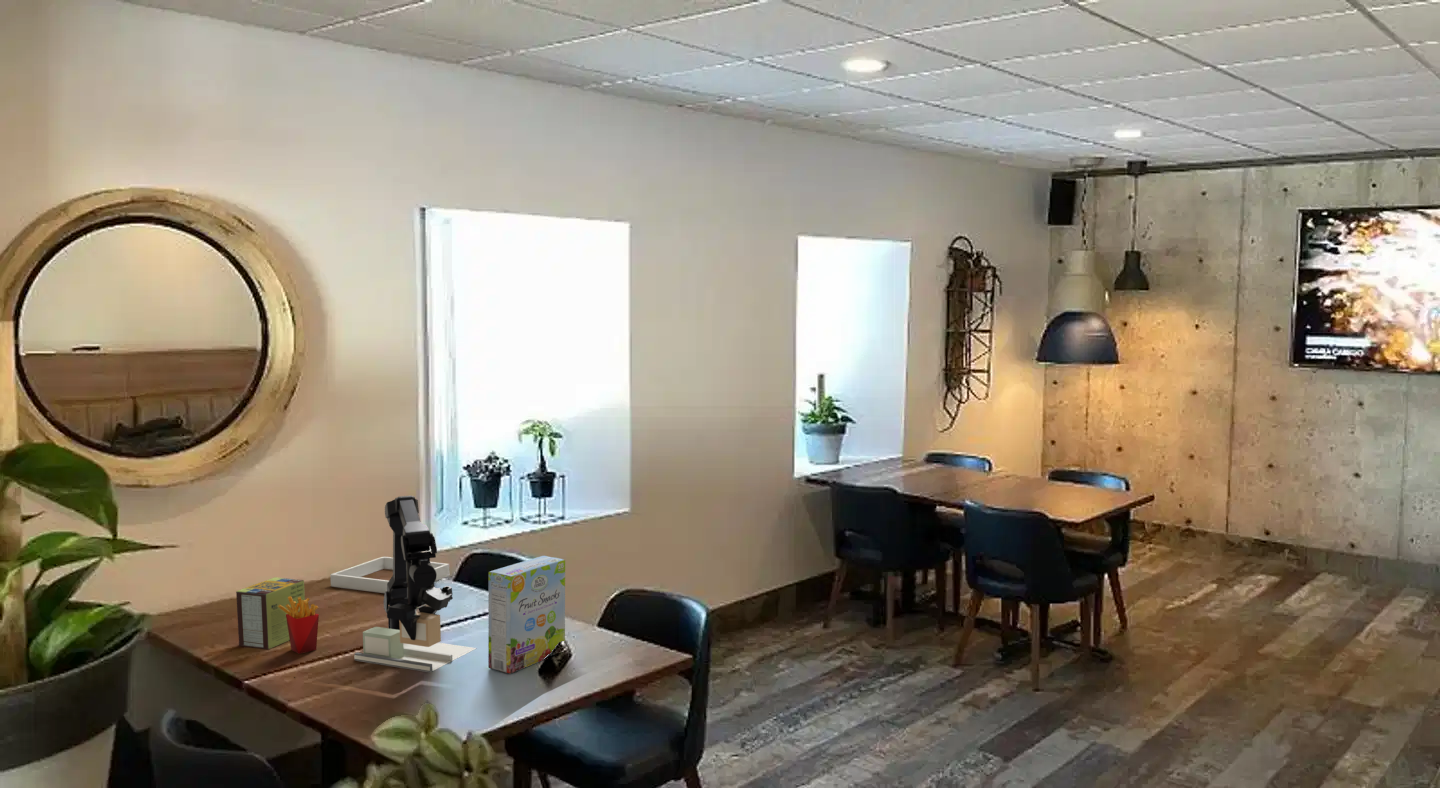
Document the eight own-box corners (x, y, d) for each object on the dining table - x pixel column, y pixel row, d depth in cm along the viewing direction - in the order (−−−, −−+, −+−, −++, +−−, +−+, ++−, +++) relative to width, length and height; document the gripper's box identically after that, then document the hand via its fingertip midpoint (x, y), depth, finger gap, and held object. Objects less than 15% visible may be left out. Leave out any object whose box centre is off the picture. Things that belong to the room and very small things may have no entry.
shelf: (354, 663, 286) (354, 653, 286) (404, 640, 305) (404, 631, 304) (429, 675, 277) (429, 665, 277) (476, 651, 295) (476, 641, 295)
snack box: (512, 676, 276) (510, 576, 274) (487, 669, 281) (484, 571, 278) (568, 651, 295) (566, 557, 292) (543, 646, 299) (541, 553, 297)
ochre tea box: (440, 641, 284) (440, 614, 283) (428, 647, 279) (427, 620, 278) (412, 636, 287) (411, 610, 287) (399, 642, 283) (399, 616, 282)
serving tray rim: (330, 586, 360) (330, 574, 360) (383, 567, 384) (383, 556, 384) (399, 595, 350) (399, 582, 349) (449, 575, 373) (449, 563, 373)
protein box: (307, 633, 312) (304, 579, 310) (268, 650, 297) (265, 594, 296) (277, 629, 315) (274, 576, 314) (237, 646, 301) (234, 590, 299)
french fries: (310, 644, 302) (308, 590, 300) (323, 651, 296) (321, 596, 294) (278, 651, 296) (276, 597, 294) (291, 658, 290) (289, 603, 288)
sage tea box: (403, 656, 289) (402, 630, 288) (391, 662, 284) (390, 636, 284) (376, 652, 292) (375, 626, 292) (363, 658, 288) (362, 632, 287)
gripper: (420, 590, 270) (422, 651, 271) (466, 572, 287) (467, 630, 289) (384, 585, 274) (386, 646, 276) (431, 567, 291) (433, 625, 293)
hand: (420, 636), depth 283 cm, fingers closed on ochre tea box, 5 cm apart
